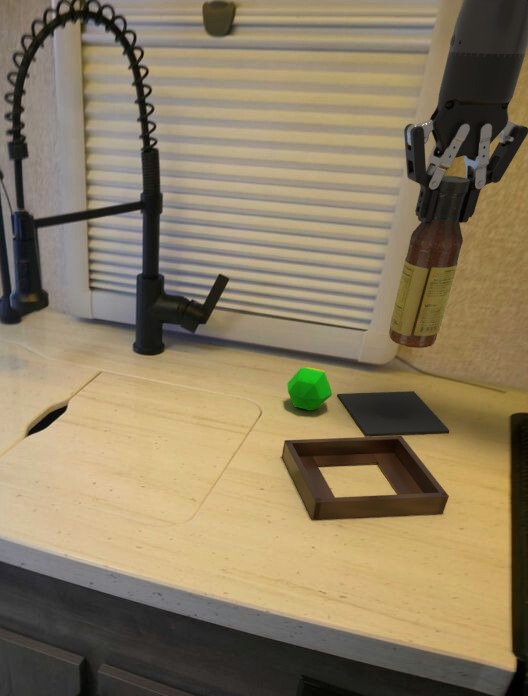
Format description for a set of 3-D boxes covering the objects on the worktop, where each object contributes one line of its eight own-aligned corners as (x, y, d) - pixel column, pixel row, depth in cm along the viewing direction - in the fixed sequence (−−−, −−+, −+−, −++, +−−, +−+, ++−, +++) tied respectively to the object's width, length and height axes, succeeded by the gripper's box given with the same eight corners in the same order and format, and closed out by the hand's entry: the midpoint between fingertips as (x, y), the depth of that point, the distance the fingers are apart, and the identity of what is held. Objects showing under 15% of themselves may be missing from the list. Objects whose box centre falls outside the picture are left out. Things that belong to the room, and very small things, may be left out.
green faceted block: (309, 368, 91) (327, 344, 97) (271, 388, 95) (291, 364, 101) (335, 411, 92) (351, 385, 99) (298, 429, 97) (315, 402, 103)
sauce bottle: (436, 337, 91) (487, 177, 79) (432, 353, 86) (485, 186, 74) (387, 328, 93) (430, 170, 81) (380, 343, 88) (424, 179, 76)
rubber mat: (413, 393, 101) (413, 391, 101) (449, 433, 92) (449, 430, 92) (336, 396, 100) (337, 393, 100) (365, 436, 91) (365, 433, 91)
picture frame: (396, 451, 88) (401, 435, 86) (443, 513, 77) (449, 496, 75) (281, 456, 87) (284, 439, 85) (312, 519, 76) (315, 502, 74)
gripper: (438, 49, 66) (397, 230, 77) (572, 50, 67) (514, 228, 78) (407, 46, 72) (373, 214, 83) (531, 47, 73) (482, 213, 84)
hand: (442, 220), depth 80 cm, fingers closed on sauce bottle, 4 cm apart
